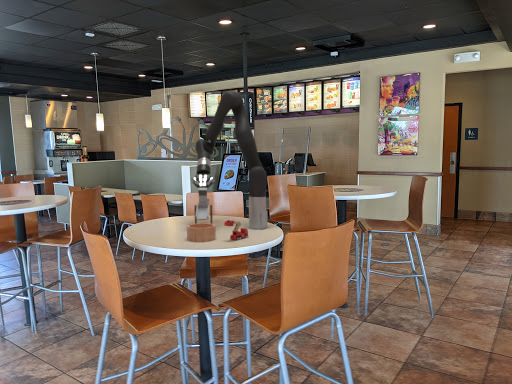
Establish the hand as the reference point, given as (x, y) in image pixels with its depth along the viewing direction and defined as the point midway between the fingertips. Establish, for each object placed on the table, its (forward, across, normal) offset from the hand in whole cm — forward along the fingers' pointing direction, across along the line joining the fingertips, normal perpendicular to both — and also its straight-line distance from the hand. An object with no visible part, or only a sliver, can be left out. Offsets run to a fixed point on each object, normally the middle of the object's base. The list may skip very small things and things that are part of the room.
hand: (202, 192), depth 196 cm
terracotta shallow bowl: (+26, -1, -3) cm, 26 cm away
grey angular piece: (+8, 0, -7) cm, 10 cm away
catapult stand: (+14, -1, -14) cm, 20 cm away
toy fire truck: (+27, -17, -2) cm, 32 cm away
